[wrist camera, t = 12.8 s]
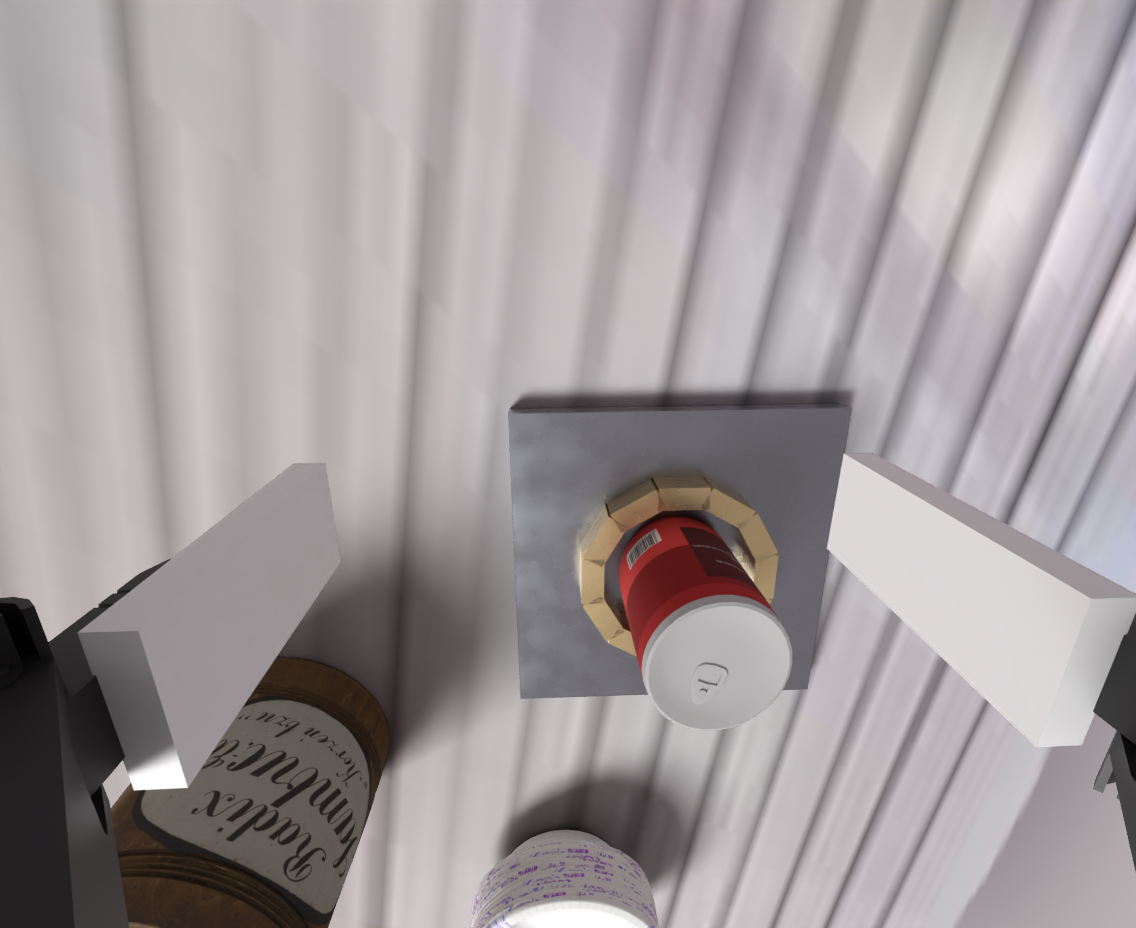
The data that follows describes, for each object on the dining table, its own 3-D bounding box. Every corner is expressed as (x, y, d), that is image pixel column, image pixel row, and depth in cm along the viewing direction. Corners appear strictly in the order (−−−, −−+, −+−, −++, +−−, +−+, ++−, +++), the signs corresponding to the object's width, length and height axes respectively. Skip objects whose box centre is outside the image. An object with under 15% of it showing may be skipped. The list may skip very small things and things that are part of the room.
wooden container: (428, 720, 43) (316, 1126, 22) (325, 829, 46) (144, 1275, 25) (263, 620, 40) (-51, 987, 19) (164, 745, 43) (-197, 1178, 22)
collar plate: (521, 684, 42) (519, 718, 39) (509, 408, 36) (505, 421, 32) (798, 675, 43) (819, 708, 40) (839, 403, 36) (868, 415, 33)
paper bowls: (666, 898, 51) (687, 1005, 43) (514, 941, 52) (508, 1053, 44) (617, 781, 46) (631, 879, 38) (451, 831, 47) (432, 935, 39)
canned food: (612, 612, 39) (636, 732, 28) (621, 509, 36) (651, 599, 26) (717, 615, 39) (779, 733, 29) (733, 513, 37) (807, 603, 26)
